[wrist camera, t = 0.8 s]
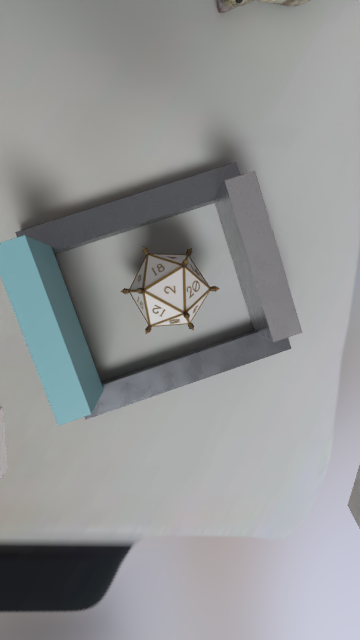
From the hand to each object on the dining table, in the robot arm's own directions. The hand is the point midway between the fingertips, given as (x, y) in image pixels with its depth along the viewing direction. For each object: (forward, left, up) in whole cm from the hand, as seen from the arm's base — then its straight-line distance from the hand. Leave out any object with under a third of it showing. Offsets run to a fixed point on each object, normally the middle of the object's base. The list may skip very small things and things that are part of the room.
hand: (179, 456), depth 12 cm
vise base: (-6, +2, -26) cm, 27 cm away
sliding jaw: (-6, -9, -24) cm, 27 cm away
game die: (-6, +2, -26) cm, 27 cm away
